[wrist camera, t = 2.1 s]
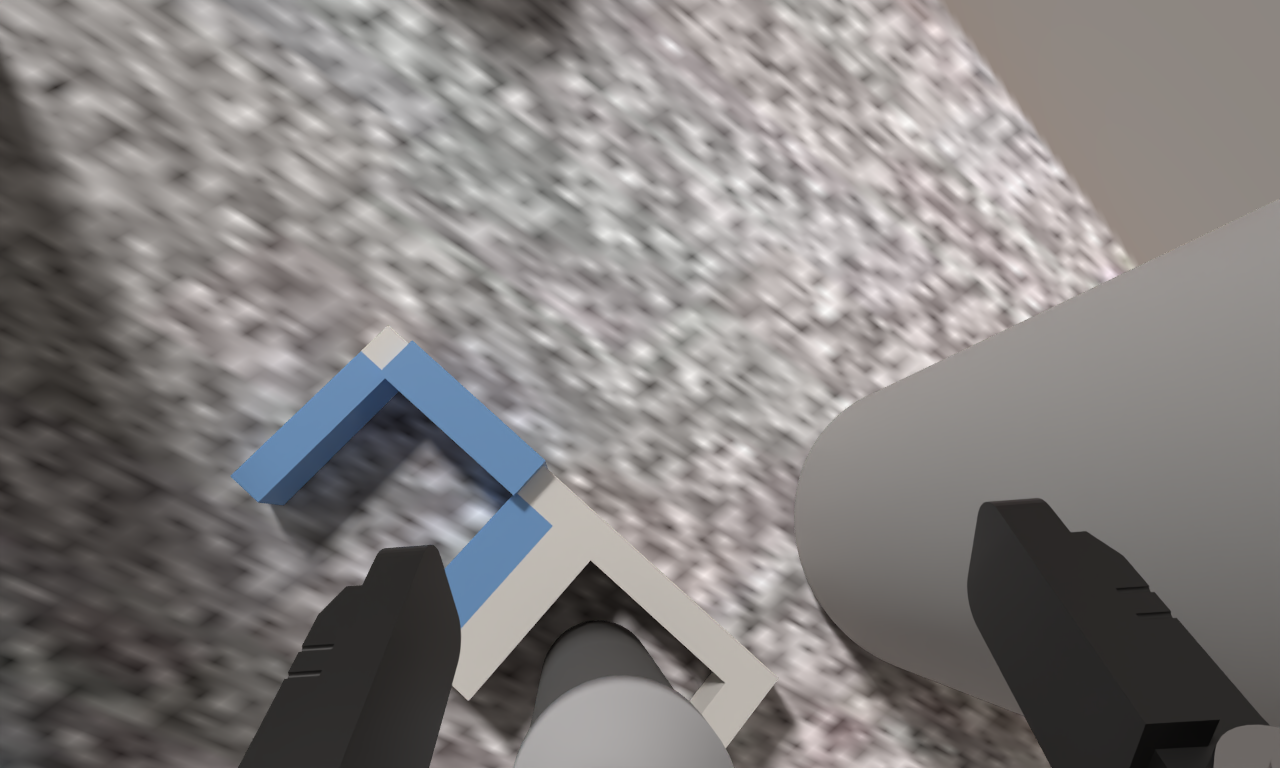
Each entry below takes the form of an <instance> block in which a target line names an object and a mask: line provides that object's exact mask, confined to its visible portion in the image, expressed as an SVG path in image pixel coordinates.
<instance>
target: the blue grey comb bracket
mask: <svg viewBox="0 0 1280 768" xmlns="http://www.w3.org/2000/svg"><path fill="white" fill-rule="evenodd" d="M398 392H401V393H402V394H403V395H404V396H405V397H406V398H407V399H408V400H409V401H410V402H412V403H413V404H414V405H415V406H416V407H417V408H418V409H419V410H420V411H421V412H423V413H424V414H425V415H426V416H427V417H428V418H429V419H430V420H431V421H432V422H433V423H435V424H436V425H437V426H438V427H439V428H440V429H441V430H442V431H443V432H444V433H446V434H447V435H448V436H449V437H450V438H451V439H452V440H453V441H454V442H455V443H457V444H458V445H459V446H460V447H461V448H462V449H463V450H464V451H465V452H466V453H467V454H469V455H470V456H471V457H472V458H473V459H474V460H475V461H476V462H477V463H478V464H480V465H481V466H482V467H483V468H484V469H485V470H486V471H487V472H488V473H489V474H491V475H492V476H493V477H494V478H495V479H496V480H497V481H498V482H499V483H500V484H502V485H503V486H504V487H505V488H506V489H507V490H508V491H509V492H510V493H511V494H512V496H511V497H510V499H509V500H508V501H507V502H506V503H505V504H504V505H503V506H502V507H501V508H500V509H499V510H498V512H497V513H496V514H495V515H494V516H493V517H492V518H491V519H490V520H489V521H488V522H487V523H486V525H485V526H484V527H483V528H482V529H481V530H480V531H479V532H478V533H477V534H476V535H475V537H474V538H473V539H472V540H471V541H470V542H469V543H468V544H467V545H466V546H465V547H464V548H463V550H462V551H461V552H460V553H459V554H458V555H457V556H456V557H455V558H454V559H453V560H452V561H451V563H450V564H449V565H448V566H447V567H446V568H445V573H446V576H447V579H448V583H449V586H450V589H451V592H452V596H453V599H454V602H455V605H456V609H457V612H458V615H459V620H460V626H461V649H460V656H459V661H458V665H457V668H456V672H455V676H454V679H453V683H452V686H453V687H454V688H455V689H456V690H457V691H458V692H459V693H460V694H462V695H463V696H464V697H465V698H466V699H467V700H468V701H469V700H470V699H471V698H472V697H473V695H474V694H475V693H476V692H477V691H478V690H479V688H480V687H481V686H482V685H483V684H484V683H485V681H486V680H487V679H488V678H489V677H490V676H491V675H492V673H493V672H494V671H495V670H496V669H497V668H498V666H499V665H500V664H501V663H502V662H503V661H504V660H505V658H506V657H507V656H508V655H509V654H510V653H511V651H512V650H513V649H514V648H515V647H516V646H517V645H518V643H519V642H520V641H521V640H522V639H523V638H524V636H525V635H526V634H527V633H528V632H529V631H530V630H531V628H532V627H533V626H534V625H535V624H536V623H537V621H538V620H539V619H540V618H541V617H542V616H543V615H544V613H545V612H546V611H547V610H548V609H549V608H550V606H551V605H552V604H553V603H554V602H555V601H556V600H557V598H558V597H559V596H560V595H561V594H562V593H563V591H564V590H565V589H566V588H567V587H568V586H569V585H570V583H571V582H572V581H573V580H574V579H575V578H576V576H577V575H578V574H579V573H580V572H581V571H582V570H583V568H584V567H585V566H586V565H587V564H588V563H589V561H590V560H591V561H592V562H593V563H594V564H595V565H596V566H597V567H599V568H600V569H601V570H602V571H603V572H604V573H605V574H606V575H607V576H608V577H610V578H611V579H612V580H613V581H614V582H615V583H616V584H617V585H618V586H619V587H621V588H622V589H623V590H624V591H625V592H626V593H627V594H628V595H629V596H630V597H631V598H633V599H634V600H635V601H636V602H637V603H638V604H639V605H640V606H641V607H642V608H644V609H645V610H646V611H647V612H648V613H649V614H650V615H651V616H652V617H653V618H655V619H656V620H657V621H658V622H659V623H660V624H661V625H662V626H663V627H664V628H666V629H667V630H668V631H669V632H670V633H671V634H672V635H673V636H674V637H675V638H676V639H678V640H679V641H680V642H681V643H682V644H683V645H684V646H685V647H686V648H687V649H689V650H690V651H691V652H692V653H693V654H694V655H695V656H696V657H697V658H698V659H700V660H701V661H702V662H703V663H704V664H705V665H706V666H707V667H708V668H709V669H711V670H712V673H711V674H710V675H709V677H708V678H707V679H706V680H705V682H704V683H703V684H702V686H701V687H700V688H699V689H698V691H697V692H696V693H695V694H694V696H693V697H692V698H691V700H690V702H691V703H692V704H693V705H694V707H695V708H696V709H697V710H698V711H699V712H700V713H701V714H702V716H703V717H704V718H705V720H706V721H707V722H708V724H709V725H710V726H711V728H712V729H713V730H714V732H715V733H716V734H717V736H718V737H719V738H720V740H721V741H722V743H723V745H724V747H725V748H726V747H727V746H728V745H729V743H730V742H731V741H732V739H733V738H734V737H735V736H736V734H737V733H738V732H739V730H740V729H741V728H742V726H743V725H744V724H745V722H746V721H747V720H748V718H749V717H750V716H751V714H752V713H753V712H754V710H755V709H756V708H757V706H758V705H759V704H760V702H761V701H762V700H763V698H764V697H765V696H766V694H767V693H768V692H769V690H770V689H771V688H772V686H773V685H774V684H775V682H776V681H777V680H778V679H779V678H778V677H777V676H776V675H775V674H774V673H772V672H771V671H770V670H769V669H768V668H767V667H766V666H765V665H764V664H763V663H761V662H760V661H759V660H758V659H757V658H756V657H755V656H754V655H753V654H751V653H750V652H749V651H748V650H747V649H746V648H745V647H744V646H743V645H742V644H740V643H739V642H738V641H737V640H736V639H735V638H734V637H733V636H732V635H730V634H729V633H728V632H727V631H726V630H725V629H724V628H723V627H722V626H720V625H719V624H718V623H717V622H716V621H715V620H714V619H713V618H712V617H711V616H709V615H708V614H707V613H706V612H705V611H704V610H703V609H702V608H701V607H699V606H698V605H697V604H696V603H695V602H694V601H693V600H692V599H691V598H690V597H688V596H687V595H686V594H685V593H684V592H683V591H682V590H681V589H680V588H678V587H677V586H676V585H675V584H674V583H673V582H672V581H671V580H670V579H669V578H667V577H666V576H665V575H664V574H663V573H662V572H661V571H660V570H659V569H657V568H656V567H655V566H654V565H653V564H652V563H651V562H650V561H649V560H647V559H646V558H645V557H644V556H643V555H642V554H641V553H640V552H639V551H638V550H636V549H635V548H634V547H633V546H632V545H631V544H630V543H629V542H628V541H626V540H625V539H624V538H623V537H622V536H621V535H620V534H619V533H618V532H617V531H615V530H614V529H613V528H612V527H611V526H610V525H609V524H608V523H607V522H605V521H604V520H603V519H602V518H601V517H600V516H599V515H598V514H597V513H596V512H594V511H593V510H592V509H591V508H590V507H589V506H588V505H587V504H586V503H584V502H583V501H582V500H581V499H580V498H579V497H578V496H577V495H576V494H575V493H573V492H572V491H571V490H570V489H569V488H568V487H567V486H566V485H565V484H563V483H562V482H561V481H560V480H559V479H558V478H557V477H556V476H555V475H553V474H552V473H551V472H550V471H549V470H548V468H547V464H546V461H545V460H544V459H543V458H542V457H541V456H540V455H539V454H537V453H536V452H535V451H534V450H533V449H532V448H531V447H530V446H529V445H527V444H526V443H525V442H524V441H523V440H522V439H521V438H520V437H519V436H517V435H516V434H515V433H514V432H513V431H512V430H511V429H510V428H509V427H508V426H506V425H505V424H504V423H503V422H502V421H501V420H500V419H499V418H498V417H496V416H495V415H494V414H493V413H492V412H491V411H490V410H489V409H488V408H486V407H485V406H484V405H483V404H482V403H481V402H480V401H479V400H478V399H477V398H475V397H474V396H473V395H472V394H471V393H470V392H469V391H468V390H467V389H465V388H464V387H463V386H462V385H461V384H460V383H459V382H458V381H457V380H455V379H454V378H453V377H452V376H451V375H450V374H449V373H448V372H447V371H446V370H444V369H443V368H442V367H441V366H440V365H439V364H438V363H437V362H436V361H434V360H433V359H432V358H431V357H430V356H429V355H428V354H427V353H426V352H424V351H423V350H422V349H421V348H420V347H419V346H418V345H417V344H416V343H415V342H413V341H411V342H410V343H408V342H406V341H405V340H404V339H403V338H402V337H401V336H400V335H399V334H398V333H396V332H395V331H394V330H393V329H392V328H391V327H390V326H389V325H388V326H387V327H386V328H385V329H384V330H383V331H382V332H381V333H380V334H378V335H377V336H376V337H375V338H374V339H373V340H372V341H371V342H370V343H369V344H368V345H367V346H366V347H365V348H364V349H363V350H362V351H361V352H360V353H359V354H358V355H357V356H355V357H354V358H353V359H352V360H351V361H350V362H349V363H348V364H347V365H346V366H345V367H344V368H343V369H342V370H341V371H340V372H339V373H338V374H337V375H336V376H335V377H333V378H332V379H331V380H330V381H329V382H328V383H327V384H326V385H325V386H324V387H323V388H322V389H321V390H320V391H319V392H318V393H317V394H316V395H315V396H314V397H313V398H312V399H310V400H309V401H308V402H307V403H306V404H305V405H304V406H303V407H302V408H301V409H300V410H299V411H298V412H297V413H296V414H295V415H294V416H293V417H292V418H291V419H290V420H288V421H287V422H286V423H285V424H284V425H283V426H282V427H281V428H280V429H279V430H278V431H277V432H276V433H275V434H274V435H273V436H272V437H271V438H270V439H269V440H268V441H266V442H265V443H264V444H263V445H262V446H261V447H260V448H259V449H258V450H257V451H256V452H255V453H254V454H253V455H252V456H251V457H250V458H249V459H248V460H247V461H246V462H245V463H243V464H242V465H241V466H240V467H239V468H238V469H237V470H236V471H235V472H234V473H233V474H232V475H231V477H232V478H233V479H234V480H235V481H236V482H237V483H238V484H239V485H240V486H241V487H242V488H243V489H244V490H245V491H247V492H248V493H249V494H250V495H251V496H252V497H253V498H254V499H255V500H256V501H257V502H259V503H268V504H276V505H284V504H285V503H286V502H287V501H288V500H289V499H290V498H291V497H292V496H294V495H295V494H296V493H297V492H298V491H299V490H300V489H301V488H302V487H303V486H304V485H305V484H306V483H307V482H308V481H309V480H310V479H311V478H312V477H313V476H314V475H315V474H316V473H317V472H318V471H319V470H320V469H321V468H322V467H323V466H324V465H325V464H326V463H327V462H328V461H329V460H330V459H331V458H332V457H333V456H334V455H335V454H336V453H337V452H338V451H339V450H340V449H341V448H342V447H343V446H344V445H345V444H346V443H347V442H348V441H349V440H350V439H351V438H352V437H353V436H354V435H355V434H356V433H357V432H358V431H359V430H360V429H361V428H362V427H363V426H364V425H365V424H366V423H367V422H368V421H369V420H370V419H371V418H372V417H373V416H374V415H375V414H377V413H378V412H379V411H380V410H381V409H382V408H383V407H384V406H385V405H386V404H387V403H388V402H389V401H390V400H391V399H392V398H393V397H394V396H395V395H396V394H397V393H398Z"/></svg>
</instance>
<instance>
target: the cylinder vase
mask: <svg viewBox="0 0 1280 768" xmlns="http://www.w3.org/2000/svg"><path fill="white" fill-rule="evenodd" d="M1029 498H1040V499H1043V500H1044V501H1045V502H1047V503H1048V505H1049V506H1050V507H1051V508H1052V509H1053V511H1054V512H1055V513H1056V514H1057V516H1058V517H1059V518H1060V519H1061V521H1062V522H1063V523H1064V524H1065V526H1066V527H1067V528H1068V529H1069V531H1070V532H1082V531H1087V532H1088V533H1090V534H1091V535H1093V536H1094V537H1096V538H1097V539H1099V540H1100V541H1102V542H1103V543H1105V544H1106V545H1108V546H1109V547H1111V548H1113V549H1114V550H1116V551H1117V552H1119V553H1120V554H1122V555H1123V556H1124V557H1125V558H1126V559H1127V560H1128V562H1129V563H1130V564H1131V565H1132V566H1133V567H1134V569H1135V570H1136V571H1137V572H1138V573H1139V574H1140V576H1141V577H1142V578H1143V579H1144V580H1145V581H1146V583H1147V584H1148V585H1149V589H1150V591H1151V592H1155V593H1156V594H1157V595H1158V597H1159V598H1160V599H1161V600H1162V601H1163V602H1164V604H1165V605H1166V606H1167V607H1168V608H1169V609H1170V611H1171V615H1172V617H1173V618H1177V619H1178V620H1179V621H1180V622H1181V623H1182V624H1183V626H1184V627H1185V628H1186V629H1187V630H1188V631H1189V633H1190V634H1191V635H1192V636H1193V637H1194V638H1195V640H1196V641H1197V642H1198V643H1199V644H1200V645H1201V647H1202V648H1203V649H1204V650H1205V651H1206V652H1207V654H1208V655H1209V656H1210V657H1211V658H1212V659H1213V661H1214V662H1215V663H1216V664H1217V665H1218V666H1219V668H1220V669H1221V670H1222V671H1223V672H1224V673H1225V675H1226V676H1227V677H1228V678H1229V679H1230V680H1231V682H1232V683H1233V684H1234V685H1235V686H1236V687H1237V689H1238V690H1239V691H1240V692H1241V693H1242V694H1243V696H1244V697H1245V698H1246V699H1247V700H1248V701H1249V703H1250V704H1251V705H1252V706H1253V707H1254V708H1255V710H1256V711H1257V712H1258V713H1259V714H1260V715H1261V717H1262V718H1263V719H1264V720H1265V721H1266V722H1267V723H1268V724H1269V725H1270V726H1274V727H1279V728H1280V199H1278V200H1276V201H1273V202H1271V203H1269V204H1267V205H1265V206H1263V207H1261V208H1259V209H1257V210H1255V211H1253V212H1250V213H1249V214H1246V215H1244V216H1242V217H1240V218H1238V219H1236V220H1234V221H1232V222H1230V223H1228V224H1225V225H1224V226H1221V227H1219V228H1217V229H1215V230H1213V231H1211V232H1209V233H1207V234H1205V235H1202V236H1200V237H1198V238H1196V239H1194V240H1192V241H1190V242H1188V243H1186V244H1184V245H1182V246H1180V247H1178V248H1175V249H1173V250H1171V251H1169V252H1167V253H1165V254H1163V255H1161V256H1159V257H1157V258H1155V259H1152V260H1150V261H1149V262H1146V263H1144V264H1142V265H1140V266H1138V267H1136V268H1134V269H1132V270H1129V271H1127V272H1125V273H1123V274H1121V275H1119V276H1117V277H1115V278H1113V279H1111V280H1109V281H1106V282H1104V283H1102V284H1100V285H1098V286H1096V287H1094V288H1092V289H1090V290H1088V291H1086V292H1083V293H1081V294H1079V295H1077V296H1075V297H1073V298H1071V299H1069V300H1067V301H1065V302H1063V303H1061V304H1058V305H1056V306H1054V307H1052V308H1050V309H1048V310H1046V311H1044V312H1042V313H1040V314H1038V315H1035V316H1033V317H1031V318H1029V319H1027V320H1025V321H1023V322H1021V323H1019V324H1017V325H1015V326H1013V327H1010V328H1008V329H1006V330H1004V331H1002V332H1000V333H998V334H996V335H994V336H992V337H990V338H987V339H985V340H983V341H981V342H979V343H977V344H975V345H973V346H971V347H969V348H967V349H965V350H962V351H960V352H958V353H956V354H954V355H952V356H950V357H948V358H946V359H944V360H942V361H939V362H937V363H935V364H933V365H931V366H929V367H927V368H925V369H923V370H921V371H919V372H916V373H914V374H912V375H910V376H908V377H906V378H904V379H902V380H900V381H898V382H896V383H894V384H891V385H889V386H887V387H885V388H883V389H881V390H879V391H877V392H875V393H873V394H871V395H868V396H866V397H864V398H862V399H861V400H859V401H857V402H855V403H854V404H852V405H851V406H849V407H848V408H847V409H845V410H844V411H843V412H841V413H840V414H839V415H838V416H837V417H836V418H835V419H834V420H833V421H832V422H831V423H830V424H829V425H828V426H827V427H826V428H825V429H824V431H823V432H822V433H821V435H820V436H819V437H818V439H817V440H816V442H815V443H814V445H813V447H812V448H811V450H810V452H809V454H808V456H807V458H806V461H805V463H804V466H803V468H802V471H801V474H800V478H799V481H798V486H797V491H796V497H795V506H794V528H795V537H796V544H797V549H798V553H799V557H800V561H801V564H802V567H803V570H804V573H805V575H806V578H807V580H808V582H809V585H810V587H811V589H812V591H813V592H814V594H815V596H816V598H817V600H818V601H819V603H820V604H821V606H822V607H823V609H824V610H825V612H826V613H827V614H828V616H829V617H830V618H831V619H832V620H833V622H834V623H835V624H836V625H837V626H838V627H839V628H840V629H841V630H842V631H843V632H844V633H845V634H846V635H847V636H848V637H849V638H850V639H851V640H853V641H854V642H855V643H856V644H858V645H859V646H860V647H861V648H863V649H864V650H866V651H867V652H869V653H870V654H872V655H874V656H875V657H877V658H879V659H881V660H883V661H885V662H887V663H889V664H891V665H894V666H896V667H899V668H901V669H904V670H907V671H909V672H912V673H914V674H917V675H919V676H922V677H925V678H927V679H930V680H932V681H935V682H937V683H940V684H943V685H945V686H948V687H950V688H953V689H955V690H958V691H961V692H963V693H966V694H968V695H971V696H973V697H976V698H979V699H981V700H984V701H986V702H989V703H992V704H994V705H997V706H999V707H1002V708H1004V709H1007V710H1010V711H1012V712H1015V713H1017V714H1020V715H1022V716H1024V714H1023V713H1022V711H1021V709H1020V707H1019V705H1018V703H1017V701H1016V699H1015V697H1014V696H1013V694H1012V692H1011V690H1010V688H1009V686H1008V684H1007V682H1006V680H1005V679H1004V677H1003V675H1002V673H1001V671H1000V669H999V667H998V665H997V663H996V662H995V660H994V658H993V656H992V654H991V652H990V650H989V648H988V646H987V645H986V643H985V641H984V639H983V637H982V635H981V633H980V631H979V629H978V628H977V626H976V623H975V621H974V619H973V616H972V613H971V610H970V606H969V601H968V594H967V578H968V572H969V565H970V559H971V553H972V547H973V541H974V534H975V528H976V522H977V516H978V511H979V508H980V506H981V505H982V504H983V503H984V502H989V501H1002V500H1015V499H1029Z"/></svg>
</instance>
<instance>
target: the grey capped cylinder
mask: <svg viewBox="0 0 1280 768" xmlns="http://www.w3.org/2000/svg"><path fill="white" fill-rule="evenodd" d="M513 768H734V766H733V763H732V761H731V758H730V756H729V754H728V752H727V750H726V748H725V747H724V745H723V743H722V741H721V740H720V738H719V737H718V736H717V734H716V733H715V732H714V730H713V729H712V728H711V726H710V725H709V724H708V722H707V721H706V720H705V718H704V717H703V716H702V714H701V713H700V712H699V711H698V710H697V709H696V708H695V707H694V705H693V704H692V703H691V702H690V701H688V700H687V699H686V698H685V697H683V696H682V695H681V694H680V693H678V692H677V691H675V690H674V689H673V688H672V686H671V685H670V683H669V682H668V680H667V679H666V678H665V676H664V675H663V673H662V672H661V670H660V669H659V667H658V666H657V665H656V663H655V662H654V660H653V659H652V657H651V656H650V655H649V653H648V652H647V650H646V649H645V647H644V646H643V645H642V643H641V642H640V640H639V639H638V638H637V637H636V636H635V635H634V634H633V633H632V632H630V631H629V630H628V629H626V628H624V627H623V626H621V625H618V624H616V623H612V622H609V621H589V622H584V623H581V624H578V625H576V626H574V627H572V628H570V629H569V630H567V631H566V632H565V633H563V634H562V635H561V636H560V637H559V638H558V639H557V640H556V641H555V643H554V644H553V645H552V647H551V648H550V650H549V652H548V654H547V656H546V658H545V661H544V664H543V668H542V673H541V678H540V683H539V687H538V692H537V697H536V702H535V707H534V712H533V717H532V722H531V727H530V729H529V731H528V733H527V735H526V736H525V738H524V740H523V742H522V744H521V747H520V749H519V751H518V754H517V756H516V760H515V764H514V767H513Z"/></svg>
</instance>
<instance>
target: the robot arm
mask: <svg viewBox="0 0 1280 768" xmlns="http://www.w3.org/2000/svg"><path fill="white" fill-rule="evenodd" d="M967 594H968V601H969V606H970V610H971V613H972V616H973V619H974V621H975V623H976V626H977V628H978V629H979V631H980V633H981V635H982V637H983V639H984V641H985V643H986V645H987V646H988V648H989V650H990V652H991V654H992V656H993V658H994V660H995V662H996V663H997V665H998V667H999V669H1000V671H1001V673H1002V675H1003V677H1004V679H1005V680H1006V682H1007V684H1008V686H1009V688H1010V690H1011V692H1012V694H1013V696H1014V697H1015V699H1016V701H1017V703H1018V705H1019V707H1020V709H1021V711H1022V713H1023V714H1024V716H1025V718H1026V720H1027V722H1028V724H1029V726H1030V728H1031V730H1032V731H1033V733H1034V735H1035V737H1036V739H1037V741H1038V743H1039V745H1040V747H1041V748H1042V750H1043V752H1044V754H1045V756H1046V758H1047V760H1048V762H1049V764H1050V765H1051V767H1052V768H1280V728H1279V727H1274V726H1270V725H1269V724H1268V723H1267V722H1266V721H1265V720H1264V719H1263V718H1262V717H1261V715H1260V714H1259V713H1258V712H1257V711H1256V710H1255V708H1254V707H1253V706H1252V705H1251V704H1250V703H1249V701H1248V700H1247V699H1246V698H1245V697H1244V696H1243V694H1242V693H1241V692H1240V691H1239V690H1238V689H1237V687H1236V686H1235V685H1234V684H1233V683H1232V682H1231V680H1230V679H1229V678H1228V677H1227V676H1226V675H1225V673H1224V672H1223V671H1222V670H1221V669H1220V668H1219V666H1218V665H1217V664H1216V663H1215V662H1214V661H1213V659H1212V658H1211V657H1210V656H1209V655H1208V654H1207V652H1206V651H1205V650H1204V649H1203V648H1202V647H1201V645H1200V644H1199V643H1198V642H1197V641H1196V640H1195V638H1194V637H1193V636H1192V635H1191V634H1190V633H1189V631H1188V630H1187V629H1186V628H1185V627H1184V626H1183V624H1182V623H1181V622H1180V621H1179V620H1178V619H1177V618H1173V617H1172V615H1171V611H1170V609H1169V608H1168V607H1167V606H1166V605H1165V604H1164V602H1163V601H1162V600H1161V599H1160V598H1159V597H1158V595H1157V594H1156V593H1155V592H1151V591H1150V589H1149V585H1148V584H1147V583H1146V581H1145V580H1144V579H1143V578H1142V577H1141V576H1140V574H1139V573H1138V572H1137V571H1136V570H1135V569H1134V567H1133V566H1132V565H1131V564H1130V563H1129V562H1128V560H1127V559H1126V558H1125V557H1124V556H1123V555H1122V554H1120V553H1119V552H1117V551H1116V550H1114V549H1113V548H1111V547H1109V546H1108V545H1106V544H1105V543H1103V542H1102V541H1100V540H1099V539H1097V538H1096V537H1094V536H1093V535H1091V534H1090V533H1088V532H1087V531H1082V532H1070V531H1069V529H1068V528H1067V527H1066V526H1065V524H1064V523H1063V522H1062V521H1061V519H1060V518H1059V517H1058V516H1057V514H1056V513H1055V512H1054V511H1053V509H1052V508H1051V507H1050V506H1049V505H1048V503H1047V502H1045V501H1044V500H1043V499H1040V498H1029V499H1015V500H1002V501H989V502H984V503H983V504H982V505H981V506H980V508H979V511H978V516H977V522H976V528H975V534H974V541H973V547H972V553H971V559H970V565H969V572H968V578H967ZM460 649H461V626H460V620H459V615H458V612H457V609H456V605H455V602H454V599H453V596H452V592H451V589H450V586H449V583H448V579H447V576H446V573H445V569H444V566H443V563H442V560H441V556H440V554H439V551H438V549H437V548H436V547H435V546H434V545H423V546H410V547H396V548H385V549H382V550H381V551H380V552H379V553H378V554H377V556H376V558H375V560H374V562H373V564H372V566H371V568H370V570H369V572H368V575H367V577H366V579H365V581H364V583H363V585H361V586H347V587H345V588H344V589H343V590H342V591H341V592H340V593H339V594H338V595H337V596H336V597H335V598H334V599H333V600H332V601H331V602H330V603H329V604H328V606H327V607H326V608H325V609H324V610H323V611H322V612H321V613H320V614H319V615H318V616H317V618H316V620H315V622H314V624H313V626H312V628H311V630H310V632H309V634H308V636H307V637H306V639H305V641H304V643H303V645H302V652H299V653H298V655H297V657H296V658H295V660H294V662H293V664H292V666H291V668H290V670H289V672H288V673H289V677H288V679H284V681H283V683H282V685H281V687H280V689H279V691H278V693H277V695H276V697H275V699H274V700H273V702H272V704H271V706H270V708H269V710H268V712H267V714H266V716H265V718H264V720H263V721H262V723H261V725H260V727H259V729H258V731H257V733H256V735H255V737H254V739H253V741H252V742H251V744H250V746H249V748H248V750H247V752H246V754H245V756H244V758H243V760H242V761H241V763H240V765H239V767H238V768H429V766H430V762H431V759H432V755H433V751H434V748H435V744H436V741H437V737H438V733H439V730H440V726H441V723H442V719H443V715H444V712H445V708H446V704H447V701H448V697H449V694H450V690H451V686H452V683H453V679H454V676H455V672H456V668H457V665H458V661H459V656H460Z"/></svg>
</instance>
